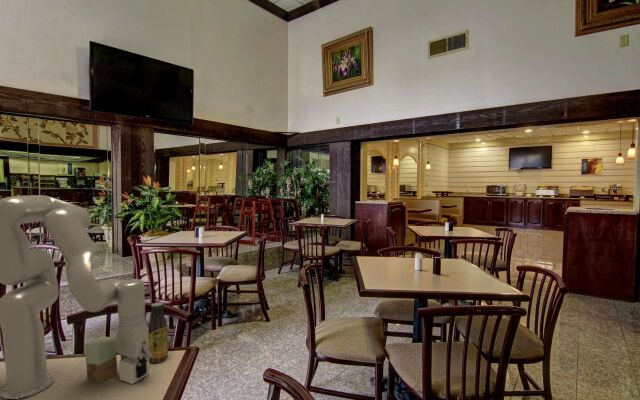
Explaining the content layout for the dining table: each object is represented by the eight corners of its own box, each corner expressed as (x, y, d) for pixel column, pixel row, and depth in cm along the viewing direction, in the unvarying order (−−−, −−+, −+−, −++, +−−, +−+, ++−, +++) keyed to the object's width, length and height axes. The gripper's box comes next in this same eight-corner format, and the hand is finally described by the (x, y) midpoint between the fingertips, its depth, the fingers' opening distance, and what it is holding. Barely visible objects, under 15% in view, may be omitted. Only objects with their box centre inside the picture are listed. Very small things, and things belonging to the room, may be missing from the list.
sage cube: (85, 362, 108) (84, 344, 107) (103, 353, 113) (102, 336, 113) (99, 365, 106) (98, 346, 105) (116, 355, 111) (115, 338, 111)
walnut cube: (87, 379, 109) (86, 361, 108) (106, 370, 114) (104, 353, 114) (99, 384, 106) (97, 365, 106) (117, 374, 111) (116, 356, 111)
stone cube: (119, 379, 107) (118, 361, 107) (137, 369, 113) (136, 352, 112) (132, 383, 105) (131, 365, 105) (149, 373, 110) (148, 356, 110)
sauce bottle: (154, 366, 116) (150, 309, 115) (145, 360, 119) (142, 305, 118) (172, 357, 121) (169, 303, 120) (163, 352, 125) (160, 300, 124)
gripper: (103, 318, 108) (106, 373, 109) (139, 327, 101) (142, 386, 102) (125, 310, 115) (127, 362, 116) (161, 318, 108) (163, 373, 108)
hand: (134, 372), depth 109 cm, fingers closed on stone cube, 6 cm apart
